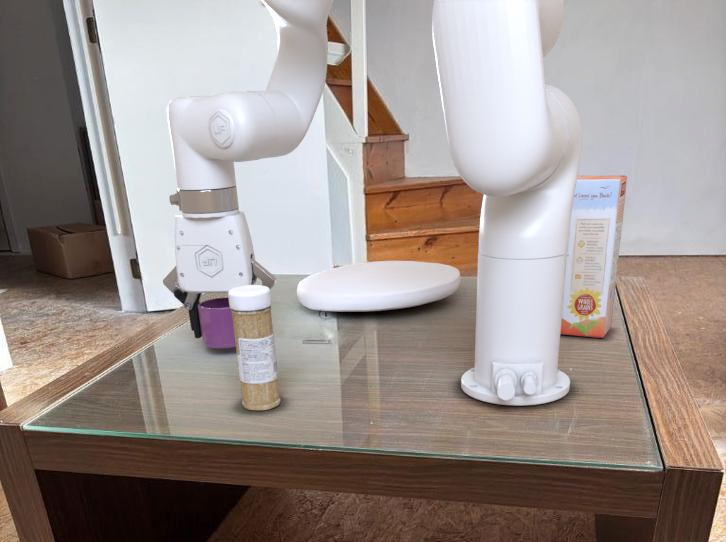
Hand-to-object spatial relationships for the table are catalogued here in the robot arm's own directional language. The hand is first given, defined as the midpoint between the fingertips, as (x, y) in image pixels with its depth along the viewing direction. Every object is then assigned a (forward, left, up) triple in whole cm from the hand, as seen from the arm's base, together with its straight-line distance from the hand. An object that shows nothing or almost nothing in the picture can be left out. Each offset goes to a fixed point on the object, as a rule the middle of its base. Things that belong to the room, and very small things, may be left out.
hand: (226, 334), depth 104 cm
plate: (+28, -18, -2) cm, 33 cm away
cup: (0, 0, -1) cm, 1 cm away
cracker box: (+11, -47, -3) cm, 48 cm away
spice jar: (-21, -11, -2) cm, 24 cm away
